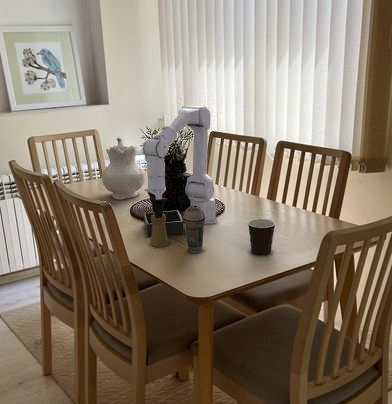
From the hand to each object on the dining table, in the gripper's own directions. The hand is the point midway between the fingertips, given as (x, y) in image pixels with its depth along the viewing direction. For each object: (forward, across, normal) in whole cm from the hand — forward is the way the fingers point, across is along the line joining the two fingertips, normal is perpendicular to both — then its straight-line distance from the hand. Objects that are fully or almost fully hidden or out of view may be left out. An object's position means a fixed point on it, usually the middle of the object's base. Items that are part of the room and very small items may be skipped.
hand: (157, 214), depth 186 cm
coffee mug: (+11, +14, +33) cm, 38 cm away
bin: (+10, -14, +3) cm, 18 cm away
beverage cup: (+11, +9, +11) cm, 18 cm away
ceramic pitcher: (+10, -65, -9) cm, 66 cm away
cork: (+11, 0, 0) cm, 11 cm away
